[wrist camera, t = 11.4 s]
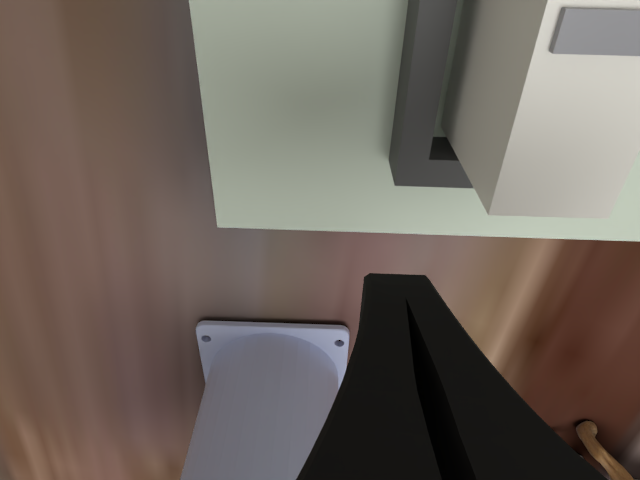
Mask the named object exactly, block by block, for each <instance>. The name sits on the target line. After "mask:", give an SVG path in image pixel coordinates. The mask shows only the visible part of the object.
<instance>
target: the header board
mask: <svg viewBox="0 0 640 480" xmlns="http://www.w3.org/2000/svg"><path fill="white" fill-rule="evenodd" d="M463 3H464V0H189V4H190V12H191V20H192V28H193V36H194V44H195V52H196V60H197V68H198V76H199V84H200V92H201V100H202V108H203V116H204V124H205V132H206V140H207V148H208V156H209V164H210V172H211V180H212V188H213V196H214V204H215V212H216V220H217V227H222V228H252V229H282V230H312V231H342V232H372V233H402V234H432V235H462V236H492V237H522V238H552V239H582V240H613V241H640V151H639V153H638V155H637V157H636V159H635V161H634V164H633V166H632V168H631V170H630V172H629V174H628V177H627V179H626V181H625V183H624V185H623V188H622V190H621V192H620V194H619V196H618V198H617V201H616V203H615V205H614V207H613V209H612V212H611V214H610V216H609V218H608V219H600V218H565V217H529V216H494V215H488V214H487V212H486V210H485V208H484V206H483V204H482V203H481V201H480V199H479V197H478V195H477V193H476V191H475V189H474V188H473V186H472V184H471V182H470V180H469V178H468V176H467V174H466V172H465V171H464V169H463V167H462V165H461V163H460V161H459V159H458V157H457V156H456V154H455V152H454V150H453V148H452V146H451V144H450V142H449V141H448V139H447V137H446V135H445V133H444V131H443V129H442V127H441V124H442V118H443V113H444V107H445V102H446V96H447V91H448V85H449V80H450V74H451V69H452V63H453V58H454V52H455V47H456V41H457V36H458V30H459V25H460V19H461V14H462V8H463Z"/></svg>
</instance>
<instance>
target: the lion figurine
mask: <svg viewBox="0 0 640 480" xmlns="http://www.w3.org/2000/svg"><path fill="white" fill-rule="evenodd" d="M576 431H577V434H578V436H579V438H580V439H581V440H582V442H583V443H584V445H585V446H586V448H587V450H588V451H589V453H590V454H591V455H592V457H593V458H594V459H595V460H597V461H598V462H599V463H600V464H601V465H602V466H603V467H604V468H605V469H606V471H607V472H608V474H609V476H610V478H611V480H638V479H633V477H632V476H631V475H630V474H629V473H628V472H627V471H626V469H625V468H624V467H623V466H622V465H620V464H619V463H618V462H617V461H616V460H615V459H614V458H613V457H612V456H611V455H610V454H609V453H608V452H607V451H606V450H605V449H604V448H603V447H602V446H601V445H600V444H599V442H598V441H597V440H596V438H595V436H596V434H597V427H596V425H595V423H593V422H591V421H585V422H582V423H581V424H579V425H578V426H577V427H576ZM580 456H581V455H580ZM581 457H582V456H581ZM582 458H583V457H582ZM583 459H584V458H583Z"/></svg>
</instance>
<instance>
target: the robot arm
mask: <svg viewBox="0 0 640 480" xmlns="http://www.w3.org/2000/svg"><path fill="white" fill-rule="evenodd" d="M205 335H206V336H205ZM196 336H197V341H198V346H199V352H200V357H201V362H202V368H203V373H204V378H205V384H206V386H205V389H204V393H203V397H202V400H201V404H200V408H199V412H198V415H197V419H196V423H195V426H194V430H193V434H192V437H191V441H190V445H189V449H188V452H187V456H186V460H185V463H184V467H183V471H182V474H181V478H180V480H608V479H606V478H605V477H604V476H603V475H602V474H601V473H599V472H598V471H597V470H596V469H595V468H594V467H593V466H591V465H590V464H589V463H588V462H587V461H586V460H585V459H583V458H582V457H581V456H580V455H579V454H578V453H576V452H575V451H574V450H573V449H572V448H571V447H570V446H569V445H568V444H567V443H566V442H565V441H564V440H563V439H562V438H561V437H560V436H558V435H557V434H556V433H555V432H554V431H553V430H552V429H551V428H550V427H549V426H548V425H547V424H546V423H545V422H544V421H543V420H542V419H541V418H540V417H539V416H538V415H537V414H536V413H535V412H534V411H533V410H532V408H531V407H530V406H529V405H528V404H527V403H526V402H525V401H524V400H523V399H522V398H521V397H520V396H519V395H518V393H517V392H516V391H515V390H514V389H513V388H512V387H511V386H510V385H509V383H508V382H507V381H506V380H505V379H504V378H503V377H502V375H501V374H500V373H499V372H498V371H497V370H496V368H495V367H494V366H493V365H492V364H491V362H490V361H489V360H488V359H487V358H486V356H485V355H484V354H483V353H482V351H481V350H480V349H479V348H478V346H477V345H476V344H475V343H474V341H473V340H472V339H471V337H470V336H469V335H468V334H467V332H466V331H465V330H464V328H463V327H462V326H461V324H460V323H459V322H458V320H457V319H456V318H455V316H454V315H453V313H452V312H451V311H450V309H449V308H448V306H447V305H446V303H445V302H444V301H443V299H442V298H441V296H440V295H439V293H438V292H437V290H436V289H435V287H434V286H433V284H432V283H431V281H430V280H429V279H428V278H427V277H426V276H425V275H403V274H373V273H370V274H368V275H367V276H365V277H364V284H363V293H362V302H361V312H360V321H359V330H358V334H357V338H356V342H355V345H354V348H353V351H352V354H351V357H350V360H349V363H348V366H347V357H348V346H349V329H348V328H347V327H345V326H343V325H324V324H294V323H265V322H235V321H201V322H199V323H198V324H197V327H196ZM207 336H209V337H207ZM337 340H342V341H337ZM346 368H347V369H346Z"/></svg>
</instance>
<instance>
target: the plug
mask: <svg viewBox="0 0 640 480" xmlns="http://www.w3.org/2000/svg"><path fill="white" fill-rule="evenodd" d="M441 127H442V129H443V131H444V133H445V135H446V137H447V139H448V141H449V142H450V144H451V146H452V148H453V150H454V152H455V154H456V156H457V157H458V159H459V161H460V163H461V165H462V167H463V169H464V171H465V172H466V174H467V176H468V178H469V180H470V182H471V184H472V186H473V188H474V189H475V191H476V193H477V195H478V197H479V199H480V201H481V203H482V204H483V206H484V208H485V210H486V212H487V214H488V215H494V216H529V217H565V218H600V219H608V218H609V216H610V214H611V212H612V209H613V207H614V205H615V203H616V201H617V198H618V196H619V194H620V192H621V190H622V188H623V185H624V183H625V181H626V179H627V177H628V174H629V172H630V170H631V168H632V166H633V164H634V161H635V159H636V157H637V155H638V153H639V151H640V0H464V3H463V8H462V14H461V19H460V25H459V30H458V36H457V41H456V47H455V52H454V58H453V63H452V69H451V74H450V80H449V85H448V91H447V96H446V102H445V107H444V113H443V118H442V124H441Z"/></svg>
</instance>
